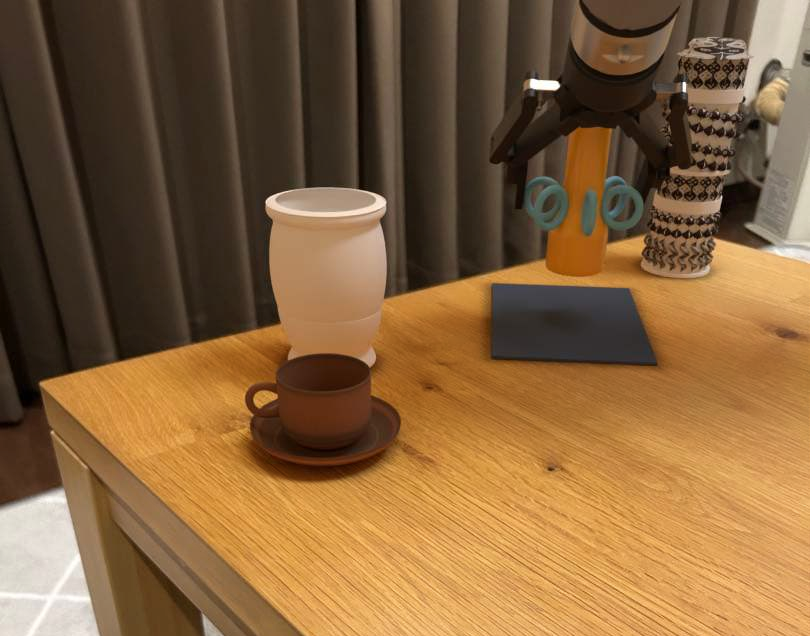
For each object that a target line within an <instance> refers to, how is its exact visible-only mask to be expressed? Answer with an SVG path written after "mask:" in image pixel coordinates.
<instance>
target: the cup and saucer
mask: <svg viewBox="0 0 810 636" xmlns="http://www.w3.org/2000/svg"><path fill="white" fill-rule="evenodd" d="M261 391H263V392H264V391H265V392H266V391H267V392H271V393H273V394H276V395H277V398H275V399H273V400H271V401H269V402H267V403H266V404H264V405H263V406H261V407H260V408H259V407H258V406H257V405H256V404H255V401H254V398H255V395H256V394H257V393H258V392H261ZM244 403H245V406H246V408H247V409H248V411H249V412H250V413H251V414H252V417H251V419H250V422H249V430H250V433H251V436H252V439H253V440H254V442H255V444H257V446H258V447H260V448H261V449H262V450H263V451H265V452H267V453H268V454H270V455H271V456H273V457H275V458H277V459H280V460H283V461H285V462H288V463H292V464H296V465H301V466H302V465H303V466H312V467H333V466H343V465H349V464H353V463H357V462H360V461H363V460H366V459H369V458H371V457H373V456H375V455H378V454H379V453H380V452H382V451H383V450H385V449H386V448H387V447H389V446H390V445H392V443H393V442H394V441H395V440H396V439H397V437H398V436H399V433H400V430H401V426H402V419H401V415H400V414H399V412H398V410H397V409H396V408H395V407H394V406H393V405H392V404H390V402H388V401H386V400H384V399H382V398H380V397H377V396H375V395H372V370H371V367H369V366H368V365H367V364H366V363H365V362H363V361H362V360H360V359H358V358H355V357H352V356H348V355H342V354H333V353H319V354H309V355H304V356H300V357H296V358H293V359H290V360H288V359H287V361H284V362H283V363H281V364H280V365H279V366H278V367H277V368H276V370H275V382H271V381H262V382H256V383H254V384H252V385H251V386H249V388H248V389H247V390H246V392H245V396H244Z"/></svg>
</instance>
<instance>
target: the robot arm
mask: <svg viewBox="0 0 810 636" xmlns="http://www.w3.org/2000/svg"><path fill="white" fill-rule="evenodd" d="M682 2H683V0H575V4H574V9H573V13H572V18H571V23H570V34H569V37H568V42H567V48H566V54H565V59H564V65H563V70H562V72H561V73H560V74H559V75H558V76H557V77H556V79H555V80H545V79H544V80H542V79H539V73H538V72H537V71H536V70H535V71H534V70H529V71H526V72H525V73H524V76H523V81H522V89H521V91H520V92H519V93H518V95H517V97H516V98H515V100H514V101H513V102H512V104H511V105H510V107H509V108H508V110H507V112H506V113H505V115H504V116H503V117H502V119H501V121H500V122H499V123H498V125H497V126H496V128H495V129H494V131H493V132H492V134H491V135H490V140H489V157H488V161H489V163H490V164H492V165H499V164H502V163H505V164H506V174H505V182H506V184H507V185H515V193H514V194H515V197H514V210H523V207H524V205H523V199H524V193H525V188H526V186H527V185H526V184H527V178H528V171H529V170H528V168H529V161H530V160H531V159H532V158H534V157H535V156H536V155H538V154H539V153H540V152H541V151H543V150H545V149H546V148H547V147H548V146H549V145H552V143H554V142H555V141H557V140H558V139H559V138H560V137H561V136H563V137H569V134H570V133H572V132H573V131H574V130H576V129H577V128H578V127H580V128H592V127H602V128H608V129H612V130H613V129H615V130H616V129H617V127H619V128H620V129H621V131H622V132H623V133H624V135H625V136H626V137H627V138H628V139H632V140H633V141H634V143H635V144H636V146H637V147H638V148H639V149H640V151H641V152H642V153H643V155H644V160H643V163H642V165H641V169H640V171H639V174H638V177H637V179H636V183H635V185H634V187H633V188H634V189H636V190H637V191H638V192H639V194H640V195H641V197H642V200H643V208H644V207H645V204H646V202H647V200H648V197H649V195H650V191H651V189H657V188H660V187H661V186H662V184H663V181H664V180H667V179H669V178H670V168H672V167H675V166H678V168H679V169H682V170H686V169H689V168H690V167H691V166H692V139H691V133H690V127H689V122H688V116H687V110H686V109H687V106H688V75H686V74H679V75H677V76H676V75H675V76H674V78H673V79H672V82H657V79H658V75H659V72H660V69H661V67H662V63H663V60H664V56H665V53H666V48H667V46H668V44H669V41H670V38H671V34H672V31H673V28H674V25H675V22H676V19H677V15H678V12H679V10H680V8H681V5H682ZM551 99H554V103H553V104H552V105H551V106H550V107H549V108H548V109H546V110H545V111H544V112H543V113H541V114H540V115H539V116H538V117H537V118H536V119H534V118H535V115H536V112H541V111H542V109H543V106H544V105H545V104H546V103H547V101H549V100H551ZM656 101H657V102H659V103H660V108H662V109H663V111H664V113H665V114H669V126H670V131H671V135H672V140H673V146H670V143H669V142H668V141H667V139H666V138H665V136H664V135H663V133H662V132H661V130H662V129H660V128H659V126H658V125H657V123H656V122H655V120H654V119H653V117H652V116H651V115H650V112H648V110H647V109H648V108H650V107H651V106H652V105H654V103H655V102H656ZM533 119H534V120H533ZM634 212H635V203H634V202H633V213H634Z"/></svg>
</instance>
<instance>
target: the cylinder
mask: <svg viewBox="0 0 810 636" xmlns="http://www.w3.org/2000/svg"><path fill="white" fill-rule="evenodd" d="M612 134H613V129H608V128H602V127H592V128H580V127H578V128H577V129H576V130H574V131H573V132H572V133H570V134H569V135H568V136H567V138H568V139H567V146H566V147H567V148H566V157H565V167H564V174H563V175H564V177H563V184H562V186H561V184H559V182H557V181H556V179H554V178H552V177H549V176H538V177H535V178H533V179H532V180H531V181H529V182H528V183H527V185H526V186H525V193H524V199H523V208H524V210H525V213H527V215H528V216H529V217H531V218H532V219H533V220H534V221H533V222H534V223H535V225H536V226H537V228H539V229H540V230H541V231H544V232H548V234H547V245H546V253H545V264H544V265H545V268H546V270H548V271H549V272H551V273H553V274H557V275H561V276H566V277H575V278H576V277H577V278H580V277H581V278H585V277H592V276H595V275H599V274H601V273H602V272H603V271H604V268H605V262H606V261H605V260H606V254H607V247H608V240H609V228H610V229H612V230H615V231H628V230H629V229H631V228H633V227H634V226H636V225H637V224H638V223H639V221H640V220H641V218H642V216H643V213H644V207H643V200H642V197H641V195H640V194H639V192H638V191H637V190H636V189H634V188H635V187H633V186H631V185H628V184H627V183H626V181H625V180H624V179H623V178H622V177H620V176H618V175H612V176H609V177H607V171H608V164H609V155H610V148H611V141H612ZM613 185H615V186H613ZM539 186H546V187H545V188H543V189H542V191H540V193H539V194H538V195H537V197H536V198H535V202H534V205H533V204H532V201H531V198H532V197H531V196H532V193H533V191H534V190H535V189H536V188H537V187H539ZM611 186H613V187H611ZM610 187H611V188H610ZM551 195H555V204H554V206H553V207H552V209H551V210H549V211H547V212H542V210H543V209H542V208H543V205H544V203H545V201H546V200H547V198H548V197H550V196H551ZM616 195H619V198H618V201H617V204H616V205H615V206H614V208H613V209H612V210H610V211H609V204H610V201H611V200H612V199H613V197H615V196H616ZM628 196H629V197H630V198H631V199H632V200H633V204H634V203H635V212H634V211H633V215H632V216H631V217H630V218H629V219H627V220H626V221H617V220H615V218H617V217H618V216H619V215H620V214H621V213H622V212H623V210H624V208H625V207H626V204H627V200H628ZM551 220H552V221H551ZM547 221H549V222H547Z"/></svg>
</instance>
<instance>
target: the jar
mask: <svg viewBox="0 0 810 636" xmlns="http://www.w3.org/2000/svg"><path fill="white" fill-rule="evenodd" d="M386 212H387V200H386V198H385V197H383V196H382V195H380V194H377V193H375V192H372V191H368V190H362V189H358V188H357V189H356V188H347V187H307V188H305V187H304V188H297V189H290V190H286V191H281V192H278V193H276V194H273V195H271V196H269V197H268V198H266V200H265V213H266V214H267V216H268V217H269V218H270V219H271V220H272V225H271V228H270V229H271V230H270V237H269V247H268V249H269V250H268V251H269V255H268V257H269V260H268V263H269V274H270V280H271V287H272V292H273V296H274V299H275V302H276V305H277V312H278V317H279V321H280V325H281V328H282V330H283V333H284V335H285V338H286V339H287V341H288V343H289V344H290V346H292V347H291V348H290V350H289V352H288V355H287V361H288V360H290V359H293V358H296V357H300V356H304V355H309V354H319V353H333V354H342V355H348V356H352V357H355V358H358V359H360V360H362V361H363V362H365V363H366V364H367V365H368V366H369V367H370V368H372V367H373V366H374V365H375V363H376V360H377V355H376V352H375V349H374V348H373V347H372V344H374V343H373V342H374V340H375V338H376V336H377V333H378V331H379V328H380V324H381V318H382V313H383V312H382V311H383V303H384V299H385V294H386V287H387V276H388V275H387V273H388V268H387V267H388V266H387V265H388V263H387V262H388V261H387V249H386V243H385V236H384V231H383V227H382V225H381V219H382V218H383V217H384V216H385V214H386Z"/></svg>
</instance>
